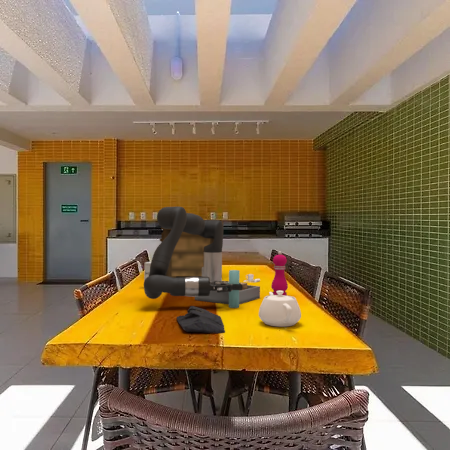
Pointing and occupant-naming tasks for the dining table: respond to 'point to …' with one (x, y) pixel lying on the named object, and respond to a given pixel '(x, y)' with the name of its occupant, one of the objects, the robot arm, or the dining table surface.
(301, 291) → the dining table surface
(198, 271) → the crate
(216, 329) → the dark gray crumpled cloth
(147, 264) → the white marbled block
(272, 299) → the teapot
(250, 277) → the teacup and saucer
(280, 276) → the pepper mill
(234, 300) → the peg
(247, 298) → the tray
